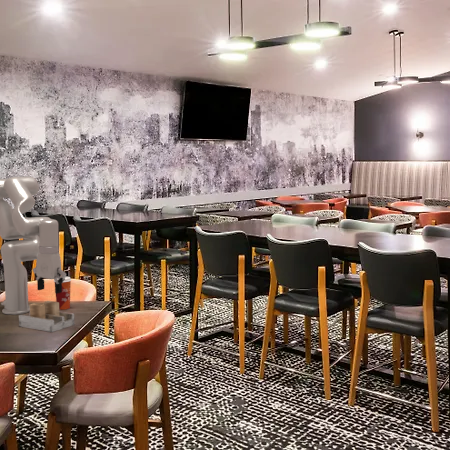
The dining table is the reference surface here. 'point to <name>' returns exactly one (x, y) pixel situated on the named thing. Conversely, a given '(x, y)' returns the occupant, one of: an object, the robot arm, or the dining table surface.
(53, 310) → the beech board
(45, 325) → the rack
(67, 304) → the paper cup
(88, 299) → the dining table surface
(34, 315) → the oak board
